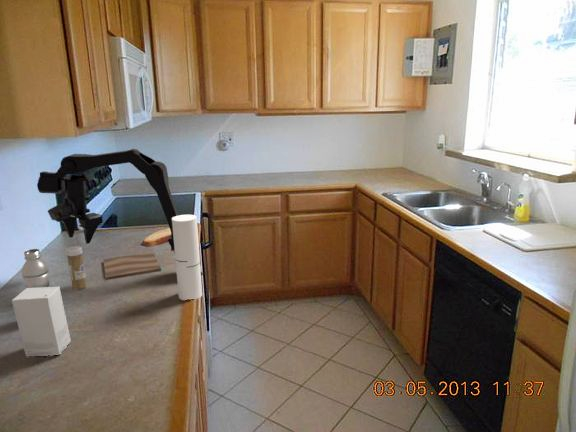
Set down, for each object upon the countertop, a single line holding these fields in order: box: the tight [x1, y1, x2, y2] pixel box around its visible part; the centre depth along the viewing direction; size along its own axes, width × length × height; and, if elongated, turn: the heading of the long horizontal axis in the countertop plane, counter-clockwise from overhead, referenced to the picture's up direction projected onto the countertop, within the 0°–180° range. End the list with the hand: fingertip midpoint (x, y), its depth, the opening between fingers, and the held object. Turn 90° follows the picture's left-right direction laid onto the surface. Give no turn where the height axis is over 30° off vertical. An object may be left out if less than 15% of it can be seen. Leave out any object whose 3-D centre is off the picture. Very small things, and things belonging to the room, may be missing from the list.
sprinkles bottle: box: [65, 245, 88, 291], centre depth 136 cm, size 5×5×14 cm
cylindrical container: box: [172, 214, 203, 301], centre depth 128 cm, size 7×7×25 cm
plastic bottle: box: [21, 248, 51, 288], centre depth 115 cm, size 6×7×20 cm
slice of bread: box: [142, 227, 171, 248], centre depth 183 cm, size 18×18×4 cm
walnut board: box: [103, 251, 162, 281], centre depth 154 cm, size 18×18×1 cm
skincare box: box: [11, 286, 72, 357], centre depth 101 cm, size 8×7×16 cm
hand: (79, 240), depth 140 cm, fingers open, 9 cm apart
